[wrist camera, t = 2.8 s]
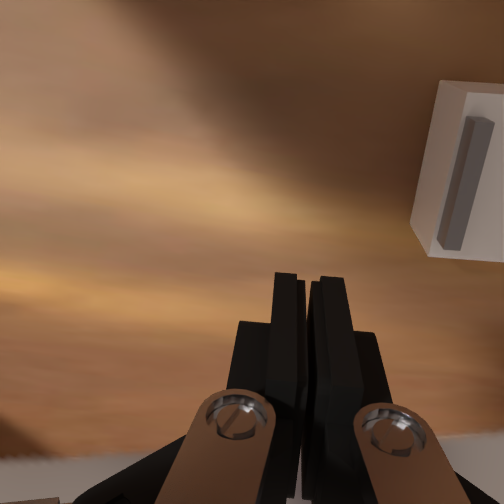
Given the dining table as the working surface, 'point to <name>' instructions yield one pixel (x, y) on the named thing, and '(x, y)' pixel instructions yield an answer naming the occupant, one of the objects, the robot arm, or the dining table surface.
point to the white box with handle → (463, 174)
